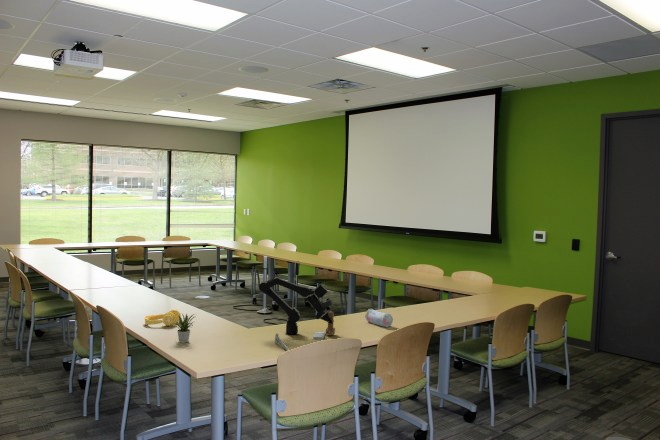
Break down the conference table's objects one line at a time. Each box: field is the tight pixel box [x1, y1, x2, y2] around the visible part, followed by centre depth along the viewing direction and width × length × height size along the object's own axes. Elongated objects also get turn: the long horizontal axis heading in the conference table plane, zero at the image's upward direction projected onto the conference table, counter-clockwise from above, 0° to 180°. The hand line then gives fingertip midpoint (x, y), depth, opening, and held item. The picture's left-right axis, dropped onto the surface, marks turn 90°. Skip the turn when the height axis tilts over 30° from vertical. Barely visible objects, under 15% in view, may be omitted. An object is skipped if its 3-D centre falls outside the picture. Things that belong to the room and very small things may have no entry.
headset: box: [144, 309, 182, 327], centre depth 333 cm, size 18×21×9 cm
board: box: [312, 331, 326, 340], centre depth 310 cm, size 6×13×1 cm, turn 175°
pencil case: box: [364, 308, 394, 328], centre depth 345 cm, size 21×9×10 cm, turn 32°
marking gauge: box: [325, 311, 336, 336], centre depth 313 cm, size 5×6×13 cm
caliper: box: [274, 333, 291, 352], centre depth 284 cm, size 20×1×6 cm, turn 28°
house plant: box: [173, 313, 196, 343], centre depth 293 cm, size 14×14×16 cm
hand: (332, 322), depth 313 cm, fingers closed on marking gauge, 3 cm apart
